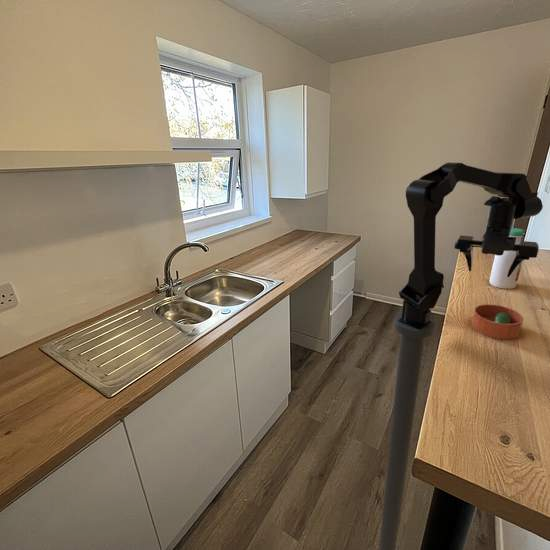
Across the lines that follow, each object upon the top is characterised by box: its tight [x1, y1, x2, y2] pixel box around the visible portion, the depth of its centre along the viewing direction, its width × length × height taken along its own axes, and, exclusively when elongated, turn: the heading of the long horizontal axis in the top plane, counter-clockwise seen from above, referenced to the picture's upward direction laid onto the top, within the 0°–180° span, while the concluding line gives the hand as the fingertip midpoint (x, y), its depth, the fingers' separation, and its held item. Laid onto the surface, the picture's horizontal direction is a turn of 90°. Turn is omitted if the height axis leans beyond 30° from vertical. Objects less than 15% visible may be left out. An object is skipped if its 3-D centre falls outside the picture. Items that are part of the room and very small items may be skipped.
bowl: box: [471, 303, 524, 340], centre depth 82 cm, size 11×11×4 cm
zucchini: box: [494, 312, 511, 324], centre depth 82 cm, size 8×4×4 cm
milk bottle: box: [489, 227, 525, 290], centre depth 102 cm, size 8×8×20 cm
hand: (488, 273), depth 88 cm, fingers open, 9 cm apart
